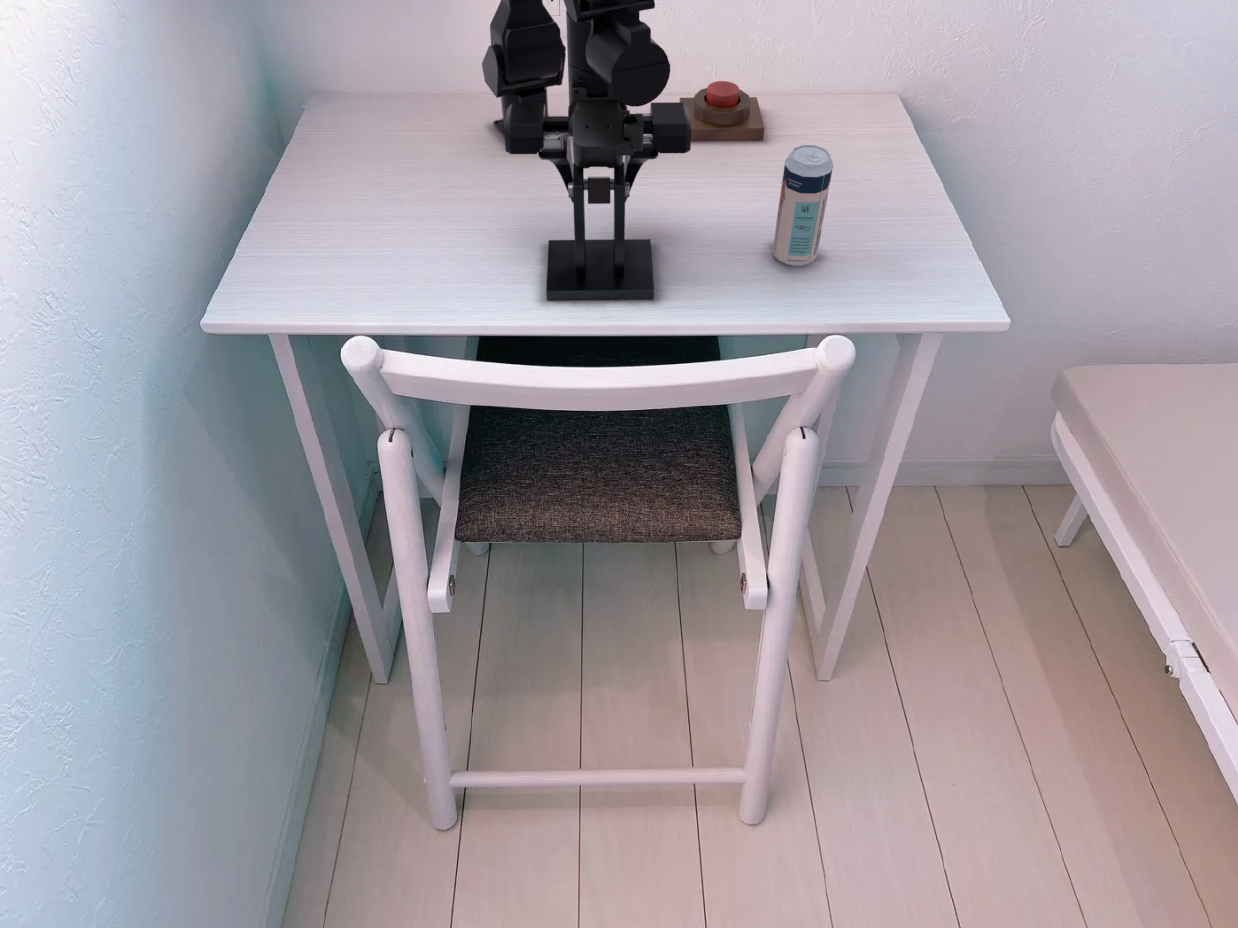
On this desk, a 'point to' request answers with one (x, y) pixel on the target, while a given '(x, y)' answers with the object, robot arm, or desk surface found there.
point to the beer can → (802, 204)
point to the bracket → (599, 255)
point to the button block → (724, 119)
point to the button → (722, 94)
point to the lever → (598, 189)
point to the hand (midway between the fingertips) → (598, 200)
